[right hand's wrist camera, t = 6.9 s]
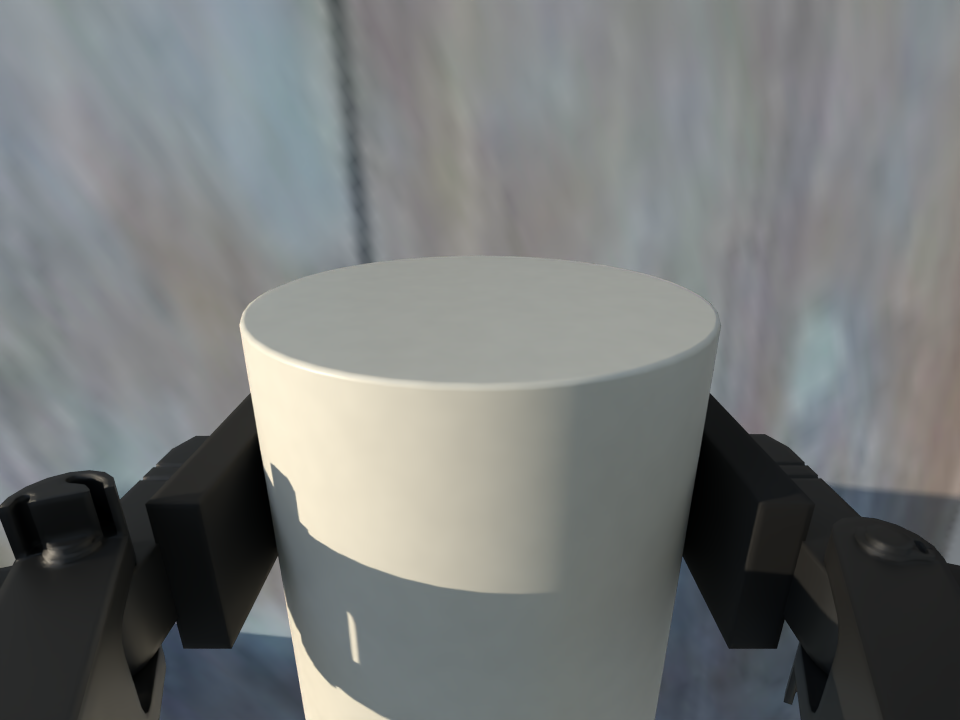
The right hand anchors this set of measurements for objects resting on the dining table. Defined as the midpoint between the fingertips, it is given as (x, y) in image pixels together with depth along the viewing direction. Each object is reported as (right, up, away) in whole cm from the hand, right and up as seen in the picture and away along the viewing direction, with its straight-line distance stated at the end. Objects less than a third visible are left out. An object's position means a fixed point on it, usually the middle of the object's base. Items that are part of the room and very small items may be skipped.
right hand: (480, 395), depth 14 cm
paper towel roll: (0, -9, +4) cm, 10 cm away
